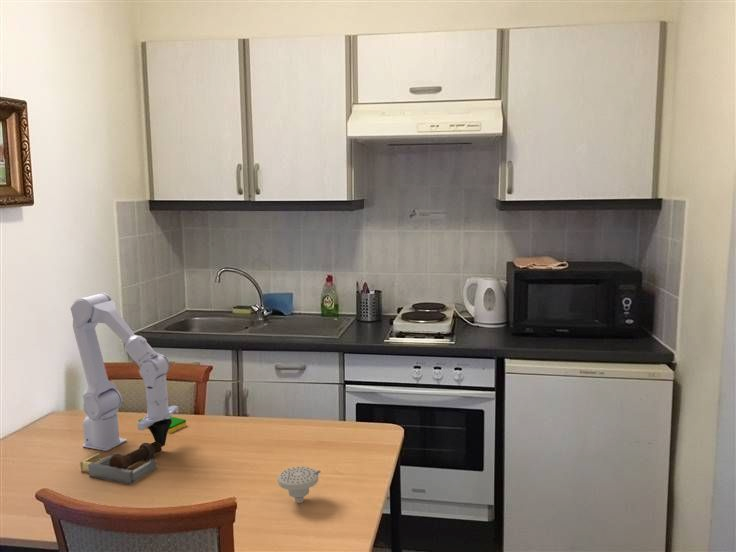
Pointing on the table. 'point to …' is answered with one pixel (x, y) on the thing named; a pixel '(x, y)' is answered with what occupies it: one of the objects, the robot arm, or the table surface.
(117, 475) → the grey u-shaped bracket
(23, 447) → the table surface
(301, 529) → the table surface
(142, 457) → the bolt
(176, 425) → the dish sponge
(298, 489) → the showerhead
